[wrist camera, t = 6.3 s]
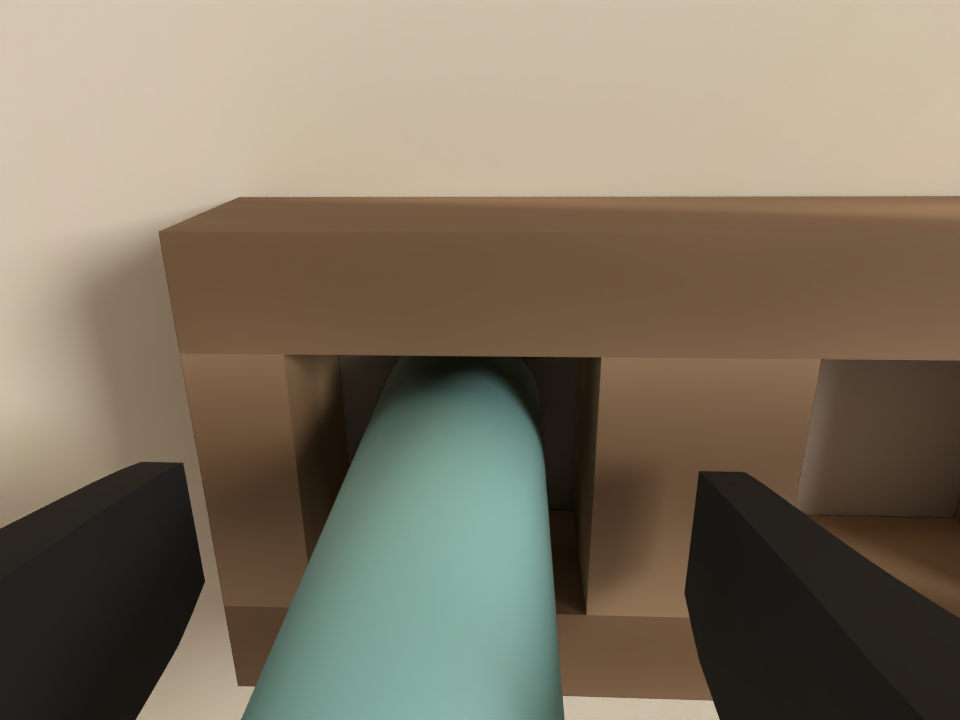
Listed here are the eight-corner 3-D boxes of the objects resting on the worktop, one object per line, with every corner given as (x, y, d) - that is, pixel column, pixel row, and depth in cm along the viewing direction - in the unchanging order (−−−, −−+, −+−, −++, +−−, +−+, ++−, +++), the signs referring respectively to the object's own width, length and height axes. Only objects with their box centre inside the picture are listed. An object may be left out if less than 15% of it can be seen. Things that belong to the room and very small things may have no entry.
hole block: (1010, 591, 15) (1127, 713, 12) (288, 575, 15) (237, 686, 12) (1139, 196, 12) (1336, 233, 9) (238, 197, 12) (158, 231, 10)
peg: (543, 471, 14) (583, 1046, 6) (392, 477, 14) (219, 1040, 6) (536, 328, 13) (575, 777, 5) (374, 336, 13) (129, 780, 5)
